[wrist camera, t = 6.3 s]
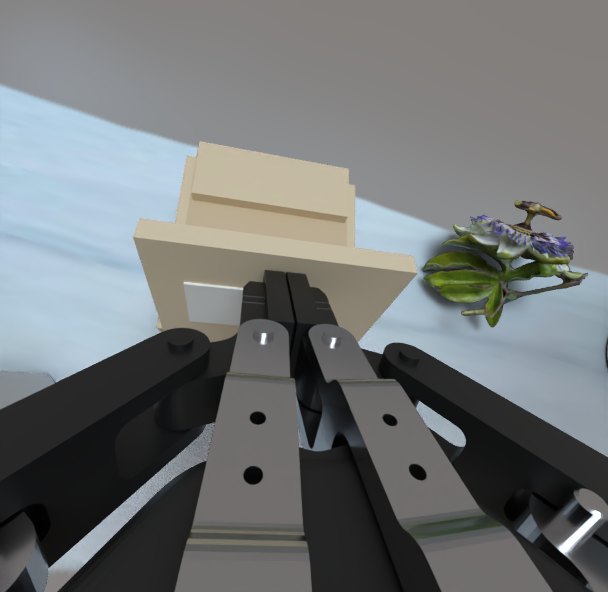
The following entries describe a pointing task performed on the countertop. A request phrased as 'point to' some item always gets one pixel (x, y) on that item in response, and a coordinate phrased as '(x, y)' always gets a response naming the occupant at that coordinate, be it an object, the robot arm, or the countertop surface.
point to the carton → (267, 196)
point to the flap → (259, 275)
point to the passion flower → (501, 262)
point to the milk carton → (20, 385)
